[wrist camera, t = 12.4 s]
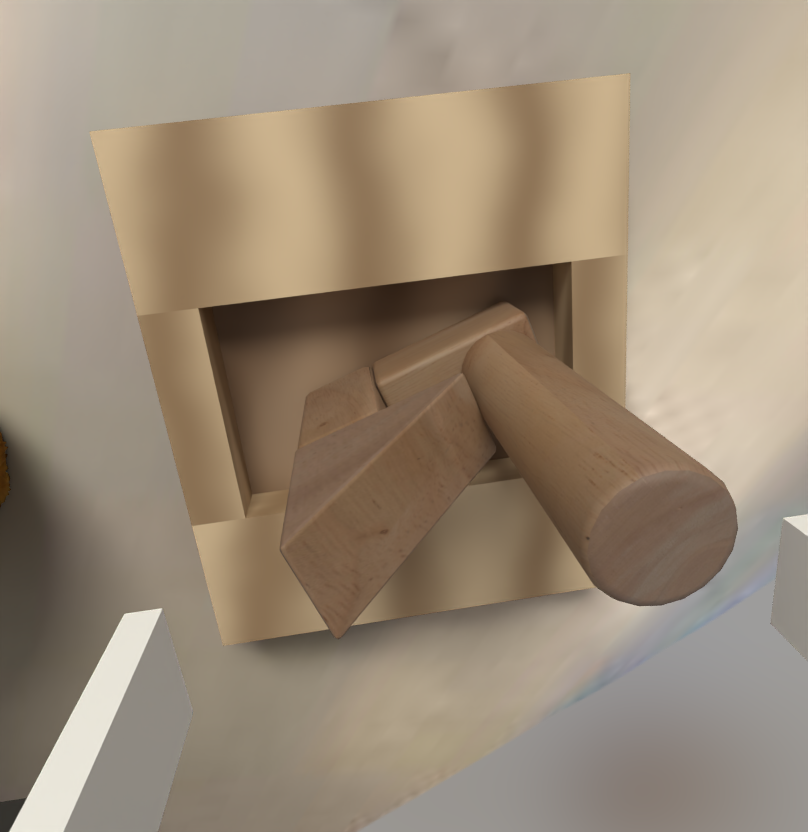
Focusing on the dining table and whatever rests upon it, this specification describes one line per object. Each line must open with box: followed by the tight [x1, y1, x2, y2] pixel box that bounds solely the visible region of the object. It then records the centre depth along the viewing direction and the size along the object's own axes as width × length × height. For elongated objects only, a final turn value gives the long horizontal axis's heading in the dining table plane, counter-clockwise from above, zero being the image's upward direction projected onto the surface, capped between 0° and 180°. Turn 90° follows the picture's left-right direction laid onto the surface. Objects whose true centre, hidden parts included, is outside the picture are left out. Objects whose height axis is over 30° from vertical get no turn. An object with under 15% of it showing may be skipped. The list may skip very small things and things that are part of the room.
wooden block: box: [280, 301, 738, 639], centre depth 22 cm, size 4×11×18 cm, turn 115°
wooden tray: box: [90, 73, 630, 646], centre depth 30 cm, size 21×24×4 cm
